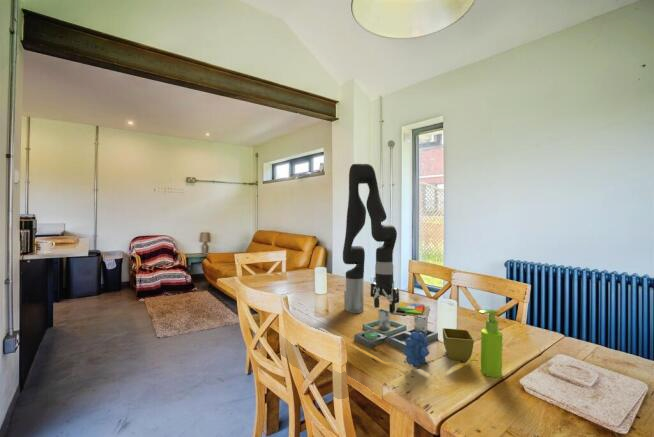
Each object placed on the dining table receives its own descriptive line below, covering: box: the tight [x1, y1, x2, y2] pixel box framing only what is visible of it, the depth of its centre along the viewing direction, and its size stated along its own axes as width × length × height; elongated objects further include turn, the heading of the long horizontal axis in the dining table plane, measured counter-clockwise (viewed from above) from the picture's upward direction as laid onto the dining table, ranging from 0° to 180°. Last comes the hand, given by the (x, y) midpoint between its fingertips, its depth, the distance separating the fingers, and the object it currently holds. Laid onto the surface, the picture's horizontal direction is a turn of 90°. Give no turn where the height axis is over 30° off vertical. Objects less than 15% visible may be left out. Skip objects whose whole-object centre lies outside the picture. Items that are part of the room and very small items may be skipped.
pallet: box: [387, 327, 439, 351], centre depth 119 cm, size 19×9×3 cm, turn 127°
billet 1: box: [377, 308, 391, 332], centre depth 131 cm, size 5×5×8 cm
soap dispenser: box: [478, 308, 503, 378], centre depth 97 cm, size 6×7×20 cm
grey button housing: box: [353, 329, 389, 349], centre depth 119 cm, size 9×9×3 cm
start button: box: [364, 332, 377, 340], centre depth 119 cm, size 5×5×3 cm
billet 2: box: [413, 315, 429, 337], centre depth 122 cm, size 5×5×8 cm
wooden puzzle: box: [390, 301, 430, 318], centre depth 157 cm, size 18×19×4 cm
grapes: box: [402, 332, 430, 369], centre depth 100 cm, size 12×7×12 cm, turn 125°
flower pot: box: [442, 327, 475, 363], centre depth 106 cm, size 9×9×9 cm
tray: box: [362, 319, 407, 337], centre depth 131 cm, size 12×14×3 cm
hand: (384, 310), depth 130 cm, fingers open, 8 cm apart
